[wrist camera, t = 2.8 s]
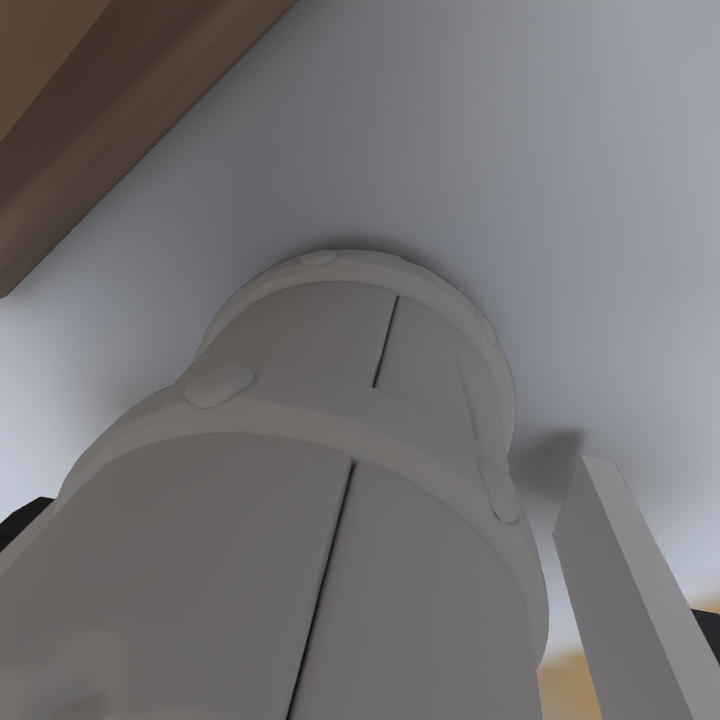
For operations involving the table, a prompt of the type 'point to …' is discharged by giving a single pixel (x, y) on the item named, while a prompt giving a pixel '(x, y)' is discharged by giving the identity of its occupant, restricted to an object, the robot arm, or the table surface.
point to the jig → (99, 100)
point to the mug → (295, 523)
